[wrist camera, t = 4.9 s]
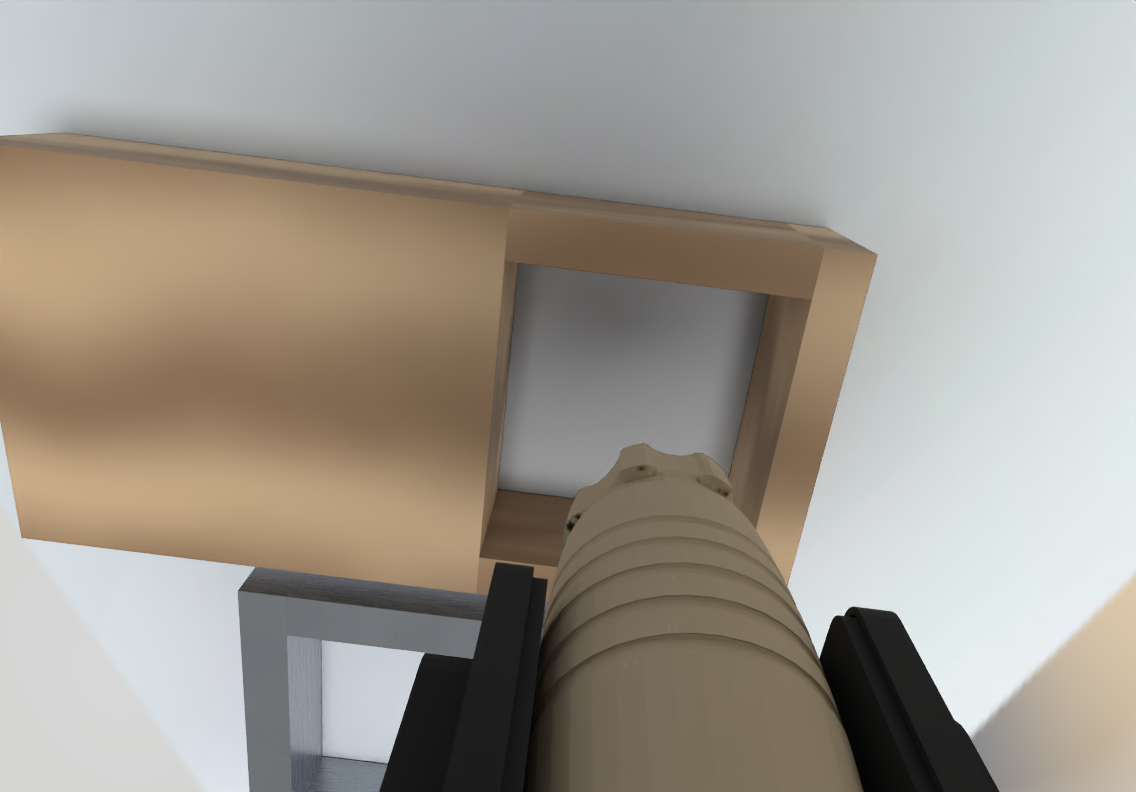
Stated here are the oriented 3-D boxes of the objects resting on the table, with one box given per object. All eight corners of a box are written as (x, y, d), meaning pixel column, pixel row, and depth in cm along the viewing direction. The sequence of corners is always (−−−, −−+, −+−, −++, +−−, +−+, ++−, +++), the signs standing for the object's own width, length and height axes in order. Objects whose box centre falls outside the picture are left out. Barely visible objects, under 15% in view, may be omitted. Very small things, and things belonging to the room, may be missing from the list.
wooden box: (64, 132, 21) (-52, 138, 17) (828, 228, 21) (877, 254, 17) (107, 473, 25) (21, 537, 21) (749, 552, 25) (774, 630, 21)
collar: (277, 538, 26) (237, 591, 23) (576, 575, 26) (572, 632, 23) (285, 779, 30) (253, 848, 27) (542, 810, 30) (536, 883, 27)
